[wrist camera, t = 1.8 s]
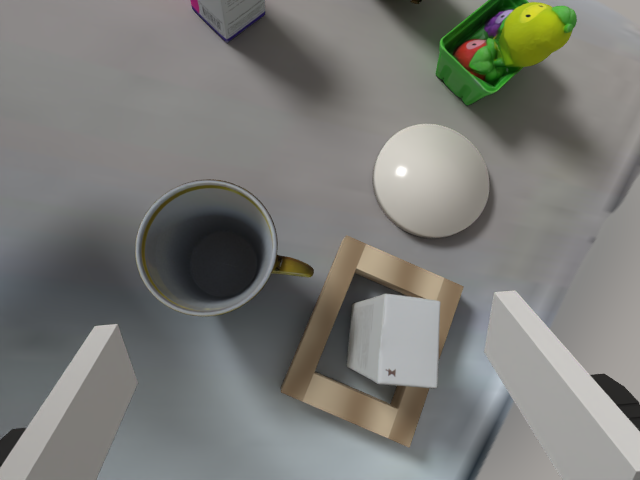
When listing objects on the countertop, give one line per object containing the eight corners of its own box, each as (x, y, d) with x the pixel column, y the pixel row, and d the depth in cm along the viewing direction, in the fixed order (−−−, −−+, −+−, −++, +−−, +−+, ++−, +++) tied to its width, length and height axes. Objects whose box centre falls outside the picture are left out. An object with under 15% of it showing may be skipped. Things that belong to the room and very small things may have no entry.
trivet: (355, 209, 41) (357, 206, 40) (396, 111, 44) (399, 106, 43) (463, 257, 42) (468, 255, 40) (497, 156, 44) (503, 152, 43)
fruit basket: (484, 17, 48) (546, -75, 37) (539, 70, 47) (619, -7, 36) (418, 73, 45) (464, -7, 34) (475, 129, 45) (540, 66, 34)
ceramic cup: (157, 305, 38) (115, 299, 28) (187, 203, 40) (158, 165, 30) (295, 334, 38) (301, 338, 29) (317, 233, 40) (329, 205, 31)
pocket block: (280, 387, 37) (280, 392, 35) (342, 240, 41) (346, 235, 38) (400, 439, 37) (409, 447, 35) (452, 288, 41) (463, 286, 38)
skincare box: (389, 371, 39) (438, 392, 27) (345, 366, 38) (375, 385, 27) (394, 306, 40) (443, 299, 28) (351, 301, 40) (382, 292, 28)
